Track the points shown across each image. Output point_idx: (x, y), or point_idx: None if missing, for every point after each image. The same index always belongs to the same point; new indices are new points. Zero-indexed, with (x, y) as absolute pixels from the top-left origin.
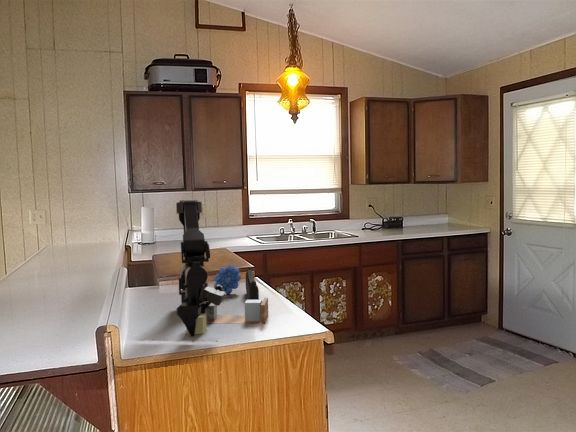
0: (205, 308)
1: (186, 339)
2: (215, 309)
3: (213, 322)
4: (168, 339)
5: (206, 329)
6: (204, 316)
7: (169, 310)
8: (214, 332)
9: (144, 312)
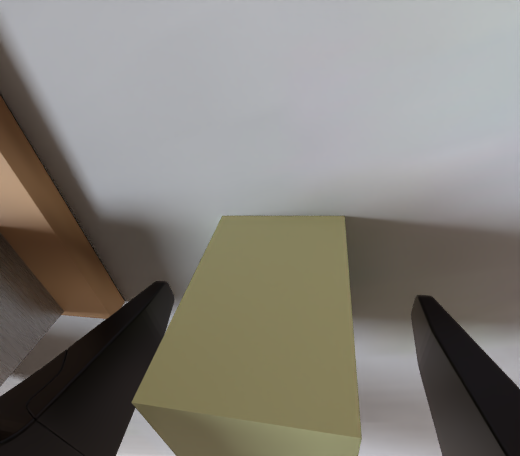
0: (6, 445)
1: (394, 311)
2: None
3: (25, 223)
4: (382, 381)
5: (219, 236)
6: (240, 399)
7: None
8: (193, 153)
9: None
